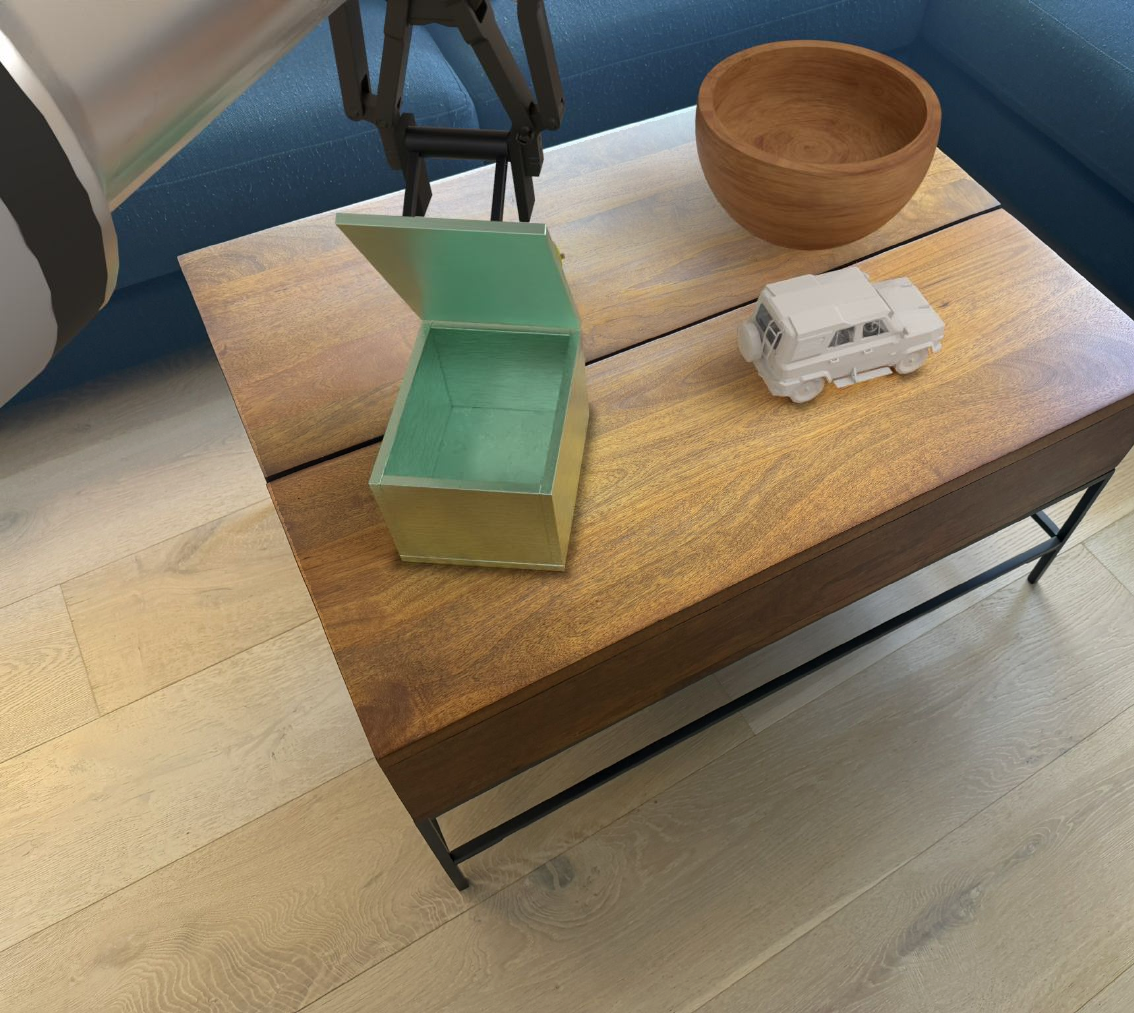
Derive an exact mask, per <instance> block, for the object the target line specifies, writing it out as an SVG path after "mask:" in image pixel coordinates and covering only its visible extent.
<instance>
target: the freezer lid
mask: <svg viewBox="0 0 1134 1013" xmlns="http://www.w3.org/2000/svg"><path fill="white" fill-rule="evenodd" d="M509 133H510V130H503V129H484V128H482V129H481V128H462V127H443V126H424V125H423V126H422V125H416V126H408V127H407V128H406V132H405V146H406V150H407V153H408V155H409V157H408V167H407V176H406V183H405V185H404V194H403V203H402V204H403V205H402V214H401V215H385V214H384V215H383V214H369V213H368V214H367V213H347V212H335V218H334V225H335V226H336V227H337V228H338V229H339V231H340V232H341V233H343V235H344V236H345V237H346V238H347V239H348V240H349V241H350V243H351V244H352V245H353V246H354V247H355V248H356V250H357V251H358V252H359V253H360V254H361V255H362V256H363V257H364V258H365V259H366V260H367V261H368V262H369V264H370V265H371V266H372V267H373V268H374V269H375V270H376V272H377V273H378V274H379V275H380V276H381V277H382V278H383V279H384V281H385V282H386V283H387V284H388V285H389V286H390V287H391V288H392V289H393V291H395V293H396V294H397V295H398V296H399V297H400V298H401V299H402V300H403V302H404V303H405V304H406V305H407V306H408V307H409V308H410V309H411V310H412V311H413V313H414V314H415V315H416V316H417V317H418V318H419V319H420V320H421V321H423V320H432V321H450V322H468V323H486V324H504V325H521V326H539V327H557V328H571V329H572V328H575V329H582V318H581V315H580V312H579V309H578V306H577V304H576V302H575V299H574V296H573V293H572V291H571V288H570V286H569V283H568V279H567V277H566V273H565V271H564V268H563V265H562V266H561V263H560V260H559V258H558V255H557V252H556V249H555V247H554V244H553V242H554V241H553V239H552V235H551V233H550V231H549V228H548V225H547V223H536V222H529V223H527V222H518V221H517V222H516V221H504V212H505V211H504V210H505V198H506V188H507V177H508V167H509V163H510V157H509V150H508V143H507V139H508V136H509ZM421 158H424V159H441V160H444V159H445V160H459V161H464V160H465V161H478V162H479V161H481V162H495V168H494V177H493V187H492V199H491V208H490V209H491V210H490V220H480V219H463V218H461V219H460V218H445V217H444V218H443V217H427V216H424V217H415V214H416V204H417V195H418V185H419V176H420V166H421Z"/></svg>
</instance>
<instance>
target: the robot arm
mask: <svg viewBox="0 0 1134 1013" xmlns="http://www.w3.org/2000/svg"><path fill="white" fill-rule="evenodd" d="M384 1H385V2H386V6H385V7H386V8H385V16H384V24H383V35H384V36H383V45H382V52H381V60H380V67H379V68H380V69H379V75H378V84H377V91H376V94H375V93H373V91H372V82H371V76H370V70H369V62H368V57H367V55H368V54H367V49H366V41H365V34H364V27H363V21H362V14H361V6H360V0H0V409H1V408H2V407H3V406H4V405H5V404H6V403H8V402H9V401H10V400H11V399H13V397H15V396H16V395H17V394H18V393H20V391H21V390H23V389H24V388H25V387H26V386H27V385H28V384H29V383H31V382H32V381H33V380H35V378H36V377H38V375H39V374H41V373H42V372H43V371H45V368H46V366H47V365H48V364H49V363H50V362H51V361H52V360H54V358H55V357H57V355H58V354H59V353H60V352H61V351H62V350H63V349H64V348H65V347H66V346H67V345H68V344H69V343H70V342H71V341H72V340H73V339H74V338H75V337H76V336H77V335H78V334H79V333H80V332H81V331H82V330H83V329H84V328H86V326H88V324H90V322H92V321H93V320H94V319H95V317H97V315H98V313H99V312H100V311H102V310H103V308H104V307H106V305H107V304H108V303H109V301H110V299H111V297H112V295H113V293H114V291H115V289H116V287H117V280H118V274H119V269H120V257H119V245H118V236H117V231H116V228H115V225H114V224H115V223H114V221H113V217H112V213H113V212H114V211H115V210H116V208H118V207H119V206H120V205H121V204H123V202H125V201H126V200H127V199H128V198H129V197H130V196H132V194H134V193H135V191H137V190H138V189H139V188H140V187H141V186H143V185H144V184H145V183H146V182H147V181H148V180H149V179H150V178H151V177H152V176H154V174H156V173H157V172H158V171H159V170H160V169H161V168H162V167H163V166H164V165H166V163H168V162H169V161H170V160H171V159H172V158H174V156H176V155H177V154H178V153H179V152H180V151H181V150H182V149H183V148H185V146H187V145H188V144H189V143H190V142H191V141H192V140H193V139H194V138H195V137H197V136H198V135H199V134H200V133H201V132H203V130H204V129H206V127H208V126H209V125H210V124H211V123H212V122H213V121H215V119H216V118H218V117H219V116H220V115H222V113H223V112H224V111H225V110H226V109H228V108H229V107H230V106H231V105H232V104H233V103H234V102H235V101H237V99H239V97H241V96H242V95H243V94H244V93H245V92H246V91H247V90H249V89H250V88H251V87H252V86H253V85H254V84H255V83H256V82H258V81H259V80H260V79H261V78H263V76H264V75H266V73H267V72H268V71H270V70H271V69H272V68H273V67H274V66H275V65H276V64H278V63H279V62H280V61H281V60H282V59H283V58H284V57H285V56H286V55H287V54H289V53H290V52H291V51H292V50H293V49H294V48H295V47H296V46H297V45H298V44H299V43H301V42H302V41H303V40H304V39H305V38H306V37H307V36H308V35H310V34H311V33H312V32H313V31H314V30H316V29H317V27H318V26H319V25H320V24H322V23H323V22H324V21H325V20H326V19H327V20H328V26H329V31H330V37H331V42H332V49H333V54H334V60H335V65H336V66H335V67H336V71H337V77H338V83H339V89H340V96H341V100H342V105H343V112H344V114H345V116H346V118H347V119H349V120H350V121H352V122H360V121H362V120H363V121H366V122H368V123H369V124H372V125H374V126H375V128H376V129H377V130H378V132H379V135H380V136H379V137H380V139H381V144H382V147H383V150H384V154H385V159H386V162H387V164H388V166H389V167H390V168H391V170H393V171H402V175H403V178H404V184H406V176H407V167H408V157H409V155H408V153H407V150H406V146H405V132H406V128H407V127H408V126H417V123H416V118H415V114H414V112H402V113H400V111H401V108H402V106H403V104H404V101H403V96H404V89H405V88H404V87H405V83H406V75H407V69H408V61H409V57H410V56H409V55H410V49H411V42H412V38H413V37H412V35H413V31H414V30H413V29H414V26H419V27H420V26H421V27H422V26H426V25H430V24H431V25H432V24H438V25H441V26H444V27H447V28H457V30H458V31H459V33H460V35H461V37H462V39H463V41H464V43H466V44H467V46H468V45H469V46H470V47H471V48H472V50H473V53H474V55H475V56H476V57H477V60H478V62H479V64H480V66H481V67H482V69H483V71H484V73H485V75H486V77H487V78H488V81H489V83H490V84H491V86H492V88H493V91H494V92H495V93H496V95H497V97H498V99H499V101H500V103H501V105H502V107H503V108H504V111H505V112H506V114H507V116H508V118H509V120H510V122H511V126H510V129H509V131H510V133H509V136H508V139H507V143H508V150H509V157H510V162H509V163H510V169H511V170H510V171H511V176H512V183H513V190H514V196H515V202H516V210H517V217H518V221H519V222H520V223H531V218H532V214H533V211H534V206H535V203H536V194H535V189H534V179H533V178H539V177H540V176H541V172H542V168H543V164H544V160H545V156H544V147H543V139H542V138H543V137H542V132H544V131H547V130H548V131H550V132H556V131H558V130H559V129H560V127H561V124H562V121H563V117H564V112H565V108H566V100H565V95H564V94H565V93H564V89H563V86H562V81H561V77H560V76H561V75H560V71H559V66H558V63H557V58H556V52H555V49H554V48H555V47H554V43H553V38H552V35H551V30H550V25H549V19H548V15H547V11H546V6H545V2H544V1H545V0H510V1H511V2H513V3H516V16H517V17H516V18H517V22H518V28H519V32H520V36H521V40H522V44H523V48H524V52H525V56H526V60H527V64H528V65H527V66H528V70H529V73H530V77H531V81H532V87H533V90H534V94H535V97H534V95H533V94H532V91H531V89H530V87H529V85H528V84H527V81H526V80H525V77H524V76H523V73H522V71H521V69H520V67H519V65H518V63H517V61H516V59H515V57H514V55H513V53H512V52H511V49H510V48H509V45H508V43H507V41H506V39H505V37H504V35H503V33H502V31H501V29H500V27H499V24H498V23H497V21H496V18H495V12H494V9H493V6H492V4H491V3H490V0H384ZM535 98H536V99H535ZM432 190H433V189H432V186H431V183H430V178H429V175H428V169H427V165H426V161H425V158H421V166H420V176H419V185H418V195H417V204H416V214H415V217H426V214H427V211H428V208H429V207H430V206H429V205H430V203H431V200H432V198H433V191H432Z"/></svg>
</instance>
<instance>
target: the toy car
mask: <svg viewBox="0 0 1134 1013" xmlns="http://www.w3.org/2000/svg"><path fill="white" fill-rule="evenodd" d="M855 262H856V264H857V261H855ZM869 280H870V275H869V273H866V272H864V271H861V269H860V268H859V267H858V266H854V265H853V266H850V267H846V268H842V269H837V270H833V271H829V272H824V273H820V274H817V275H814V274H810V273H808V274H804V275H803V274H802V275H799V276H796V277H792V278H788V279H784V280H780V281H777V282H772V283H768V284H765V285H764V287H763V289H762V290H761V291H760V294H759V296H758V298H757V300H756V303H755V305H754V308H753V310H752V313H750V314H749V317H748V321H746V322H743V323H742V322H741V323H739V324H738V326H737V330H736V331H737V332H736V333H737V344H738V349H739V351H740V353H741V356H742V357H743V359H744V360H745V361H746V362H747V363H752V364H753V365H754V367H755V369H756V371H757V372H758V373H757V375H758V377H760V378H761V379H762V380H763V382H764V383H765V386H766V387H767V389H768V390H769V392H770V394H771V395H772V396H777V397H789V398H790V400H791V401H792V402H793V403H797V404H803V403H806V402H810V401H812V400H814V399H815V398H816V397H818V396H819V395H820V393H821V392H822V391H823V390H824V386H825V383H826V382H825V380H824V378H826V381H827V382H828V384H829V385H830V384H831V383H833V384H834V385H835V386H836V388H837V389H839V388H843V387H847V386H850V385H854V384H855V385H856V384H858V383H862V382H865V381H866V382H867V381H869V380H873V379H876V378H880V377H884V376H888V375H891V374H893V371H892V370H891V368H890V367H893V369H894V370H895V371H896V372H897V373H898V374H899V375H907V374H911V373H913V372H915V371H917V370H918V369H919V368H921V367H922V366H923V365H924V363H926V361H927V359H928V357H929V355H930V353H929V348H930V350H931V351H930V352H931V354H932V355H935V354H936V353H938V352H940V351H942V344H941V340H943V339H944V338H945V335H944V333H945V329H946V324H945V323H944V321H943V320H942V318H941V316H940V315H939V314H938V313H937V312H936V311H935V309H934V308H933V306H932V305H930V304H931V303H929V301H927V299H926V298H925V296H924V295H923V294H922V292H921V291H920V290H919V289H918V287H917V286H916V285H914V283H913V282H912V281H911V280H910V279H909V278H908V277H907V276H904V277H896V278H890V279H885V280H881V281H880V280H879V281H876V282H871V281H869Z"/></svg>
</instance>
